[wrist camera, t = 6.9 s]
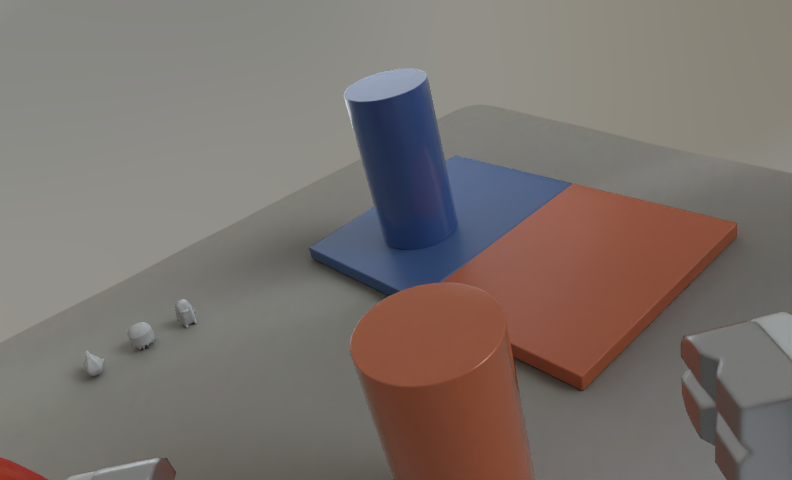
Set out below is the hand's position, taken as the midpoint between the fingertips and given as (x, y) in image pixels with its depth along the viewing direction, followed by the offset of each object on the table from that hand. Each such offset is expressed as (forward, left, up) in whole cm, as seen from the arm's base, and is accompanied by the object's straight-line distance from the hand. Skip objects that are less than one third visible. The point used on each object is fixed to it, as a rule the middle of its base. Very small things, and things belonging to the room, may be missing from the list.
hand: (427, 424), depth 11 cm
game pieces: (+36, -3, -18) cm, 40 cm away
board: (+22, -24, -18) cm, 37 cm away
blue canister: (+28, -22, -17) cm, 39 cm away
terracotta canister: (+9, -7, -18) cm, 21 cm away
